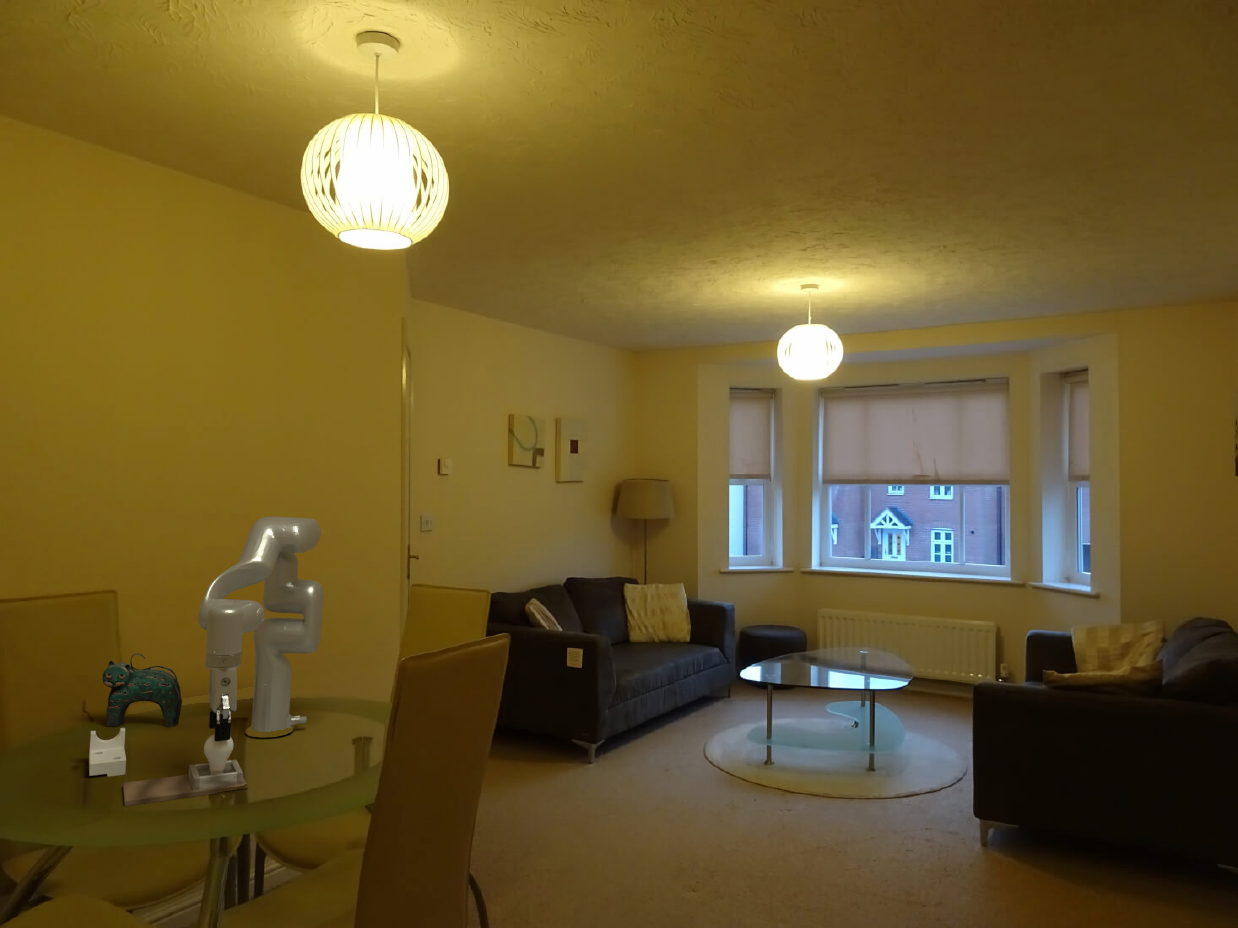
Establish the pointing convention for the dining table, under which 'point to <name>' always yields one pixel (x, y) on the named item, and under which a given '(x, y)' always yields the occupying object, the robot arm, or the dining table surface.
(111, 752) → the bracket
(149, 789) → the wooden board with tray
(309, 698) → the dining table surface
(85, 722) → the dining table surface
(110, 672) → the ceramic cat
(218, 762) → the lightbulb
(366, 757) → the dining table surface
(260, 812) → the dining table surface
